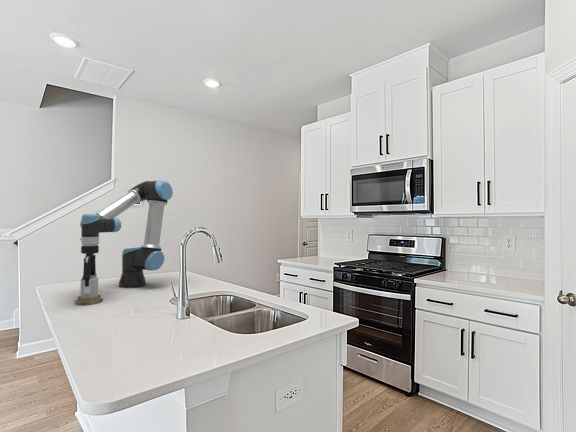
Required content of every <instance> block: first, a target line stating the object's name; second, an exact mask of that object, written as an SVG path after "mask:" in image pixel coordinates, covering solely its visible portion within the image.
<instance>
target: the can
mask: <svg viewBox="0 0 576 432" xmlns="http://www.w3.org/2000/svg"><path fill="white" fill-rule="evenodd" d="M86 277H88V276H86ZM90 279H91V293H84V280H82V278H81V279H80V295H79V296H80V299H91V298H96V297H98V294H99V278H98V276H97V275H91V276H90Z"/></svg>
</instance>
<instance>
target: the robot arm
mask: <svg viewBox="0 0 576 432" xmlns="http://www.w3.org/2000/svg"><path fill="white" fill-rule="evenodd" d="M173 193H174V192H173V187H172V186H171V184H170V183H169V182H168V181H165V180H146V181H142V182H140V183H138V184H137V185H135V186H133V187H132V188H130V189H128V191H127V193H125V194H123V196H120V198H118V199H116V200H115V201H113V202H112V203H110V204H109V205H107V206H105V207H104V208H102V209H101V210H99V211H98V212H96V213H94V214H93V213H91V214H90V213H83V214H82V216H81V220H80V223H79V225H80V228H81V230H80V231H81V234H80V235H81V236H80V237H81V238H79V240H80V242H81V243H80V244H81V247H80V253H81V254H83V255H84V254H85V257H84V258H83V272H82V273H83V274H82V278H81V279H82V280H84V293H91V279H90V276H91V275H97V271H96V269H97V268H96V267H97V266H96V255H95V254H99V252H100V249H99V247H100V246H99V244H100V233H118V232H119V231H121V228H122V222H121V219H119V218H118V216H120V214H123V212H125V211H126V210H128V209H130V208H131V207H132V206H134V205H135V204H140V203H142V202H143V201H146V202H147V204H148V211H147V216H146V217H147V218H146V224H145V225H146V227H145V233H144V241H143V244H142V245H141V246H140V247H139V246H138V247H130V248H129V247H127V248H124V249H123V250H122V254H121V261H122V262H121V269H122V270H121V274H120V277H119V278H120V279H119V281H118V287H120V288H124V289H125V288H128V289H131V288H139V287H143V286H144V287H145V286H146V284H147V280H146V277H145V274H144V270H145V271H157V270H159V269H160V268H162V266H163V264H164V263H165V255H164V252H163V251H162V247H161V246H160V242H161V234H162V226H163V219H164V210H165V206H167V205H168V201H169V200H170V199H172V197H173V195H174V194H173ZM86 276H88V277H86Z"/></svg>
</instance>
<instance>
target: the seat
mask: <svg viewBox="0 0 576 432" xmlns="http://www.w3.org/2000/svg"><path fill="white" fill-rule="evenodd" d="M103 301H104V298H103V297H102V295H101V294H99V293H98V297H96V298H91V299H80V295H79V296H77V297H76V299H75V301H74V304H75V305H76V306H89V305H90V306H91V305H97V304H100V303H103Z"/></svg>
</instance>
